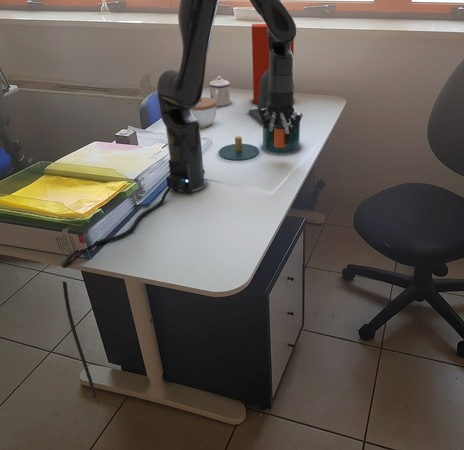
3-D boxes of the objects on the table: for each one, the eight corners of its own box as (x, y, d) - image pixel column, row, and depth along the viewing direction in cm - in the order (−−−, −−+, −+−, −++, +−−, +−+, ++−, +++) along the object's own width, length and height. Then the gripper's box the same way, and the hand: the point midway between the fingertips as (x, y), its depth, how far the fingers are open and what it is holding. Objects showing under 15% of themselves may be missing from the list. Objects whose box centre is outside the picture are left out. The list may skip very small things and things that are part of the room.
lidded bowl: (179, 124, 185) (176, 96, 179) (206, 117, 192) (204, 90, 186) (197, 132, 177) (194, 103, 171) (224, 125, 183) (222, 97, 178)
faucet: (300, 121, 186) (302, 70, 176) (264, 126, 181) (263, 74, 171) (282, 108, 201) (283, 60, 190) (248, 113, 196) (247, 64, 185)
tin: (291, 156, 156) (292, 129, 151) (257, 151, 160) (256, 124, 155) (304, 143, 166) (305, 117, 161) (271, 138, 170) (271, 113, 165)
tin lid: (248, 164, 151) (247, 147, 148) (211, 158, 155) (210, 141, 152) (265, 150, 161) (265, 133, 158) (230, 144, 166) (229, 128, 163)
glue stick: (283, 148, 145) (284, 125, 141) (271, 146, 147) (271, 123, 143) (288, 144, 148) (289, 121, 144) (276, 142, 150) (276, 119, 146)
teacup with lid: (213, 100, 212) (211, 74, 206) (232, 100, 211) (231, 74, 205) (206, 108, 202) (204, 81, 196) (227, 108, 201) (225, 81, 195)
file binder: (254, 98, 213) (252, 23, 196) (291, 98, 213) (292, 23, 196) (253, 104, 206) (251, 26, 189) (292, 103, 206) (293, 26, 189)
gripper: (254, 88, 138) (254, 143, 147) (298, 94, 133) (296, 150, 142) (264, 83, 144) (264, 136, 152) (307, 87, 139) (305, 142, 147)
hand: (280, 142), depth 147 cm, fingers closed on glue stick, 4 cm apart
